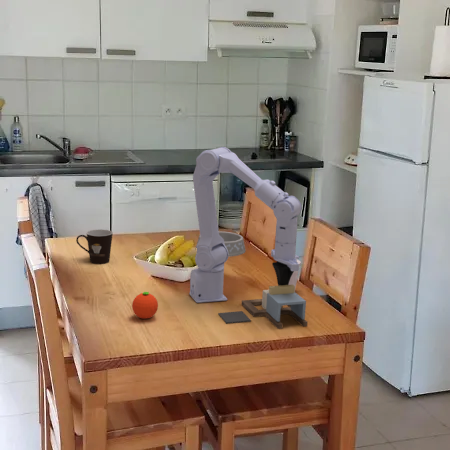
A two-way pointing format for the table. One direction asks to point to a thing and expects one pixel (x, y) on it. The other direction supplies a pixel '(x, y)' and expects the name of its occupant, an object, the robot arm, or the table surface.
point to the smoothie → (294, 276)
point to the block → (265, 299)
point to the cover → (284, 301)
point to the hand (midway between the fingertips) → (282, 288)
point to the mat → (234, 317)
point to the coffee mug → (98, 245)
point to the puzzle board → (255, 312)
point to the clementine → (145, 305)
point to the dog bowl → (232, 243)
